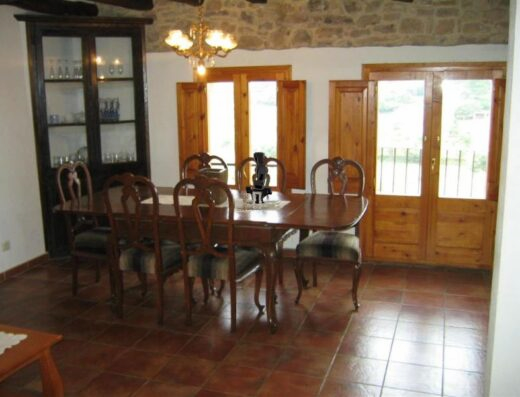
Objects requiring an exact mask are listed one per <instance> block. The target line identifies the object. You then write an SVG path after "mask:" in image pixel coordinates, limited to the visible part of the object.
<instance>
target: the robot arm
mask: <svg viewBox="0 0 520 397" xmlns="http://www.w3.org/2000/svg"><path fill="white" fill-rule="evenodd" d="M265 155H266V154H265V152H263V151H255V152H253V156H252V158H253V161H254V162H255V164H256V167H255V174H256V179H254V181H253V186H254V187H252V186H251V185H246V186H245V187H244V188H245V192H246V194H248V195H250V197H251V201H253V192H261V204H265V201H264V199H265V197H267V196H269V195H270V196H272V194H273V189H272V187H270V186H269V187H268V186H265V184H266V179H267V174H268V173H269V172H268V169H267V167H266V165H265V164H264V159H265ZM255 204H259V194H255Z"/></svg>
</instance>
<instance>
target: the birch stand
mask: <svg viewBox="0 0 520 397" xmlns="http://www.w3.org/2000/svg"><path fill="white" fill-rule="evenodd" d="M248 195H249V193H243V194H242V196H243V197H242V198H243V199H242V209H241V208H240V209H236V211H234V212H236V213H251V212H253V210H252V209H248V206H247V204H248Z"/></svg>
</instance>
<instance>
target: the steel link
mask: <svg viewBox="0 0 520 397" xmlns="http://www.w3.org/2000/svg"><path fill="white" fill-rule="evenodd" d="M255 194H259V203H258V207H257V206H256V203H255V201H256V195H255ZM252 209H253V210H256V209H257V210H262V203H261V192H253V200H252Z"/></svg>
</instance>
